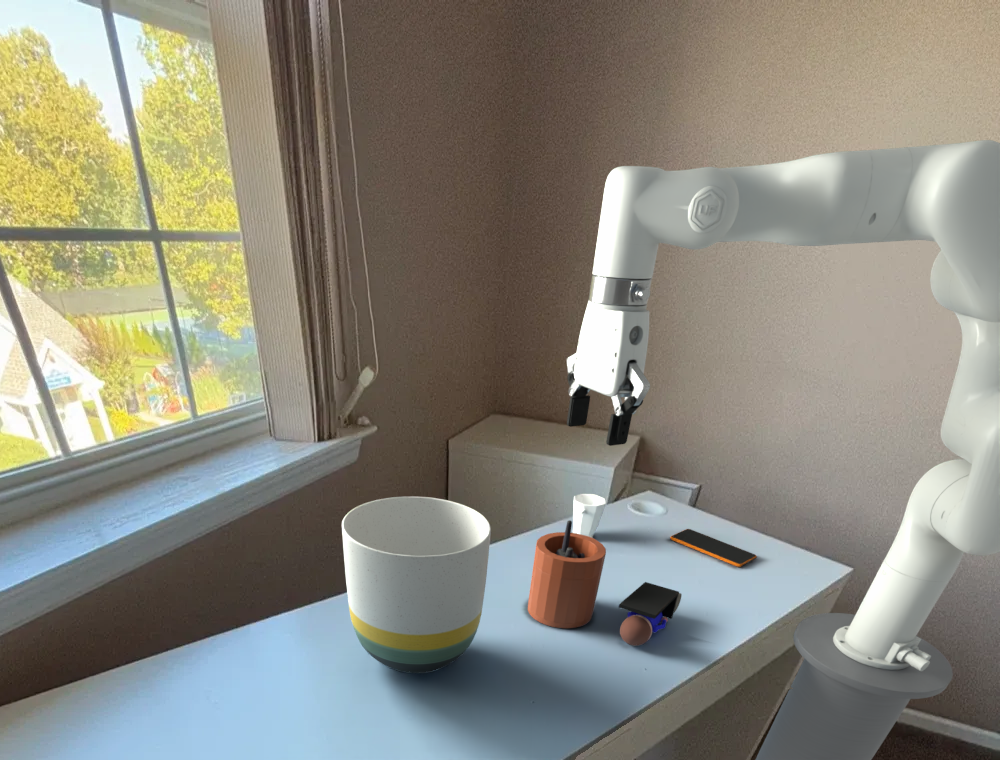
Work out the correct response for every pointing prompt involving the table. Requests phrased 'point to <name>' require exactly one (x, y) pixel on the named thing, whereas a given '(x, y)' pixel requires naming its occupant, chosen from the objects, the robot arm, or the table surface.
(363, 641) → the planter
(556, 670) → the table surface
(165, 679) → the table surface
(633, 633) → the figurine character
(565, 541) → the two-way radio
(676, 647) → the table surface
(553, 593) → the jar
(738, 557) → the smartphone
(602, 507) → the cup
